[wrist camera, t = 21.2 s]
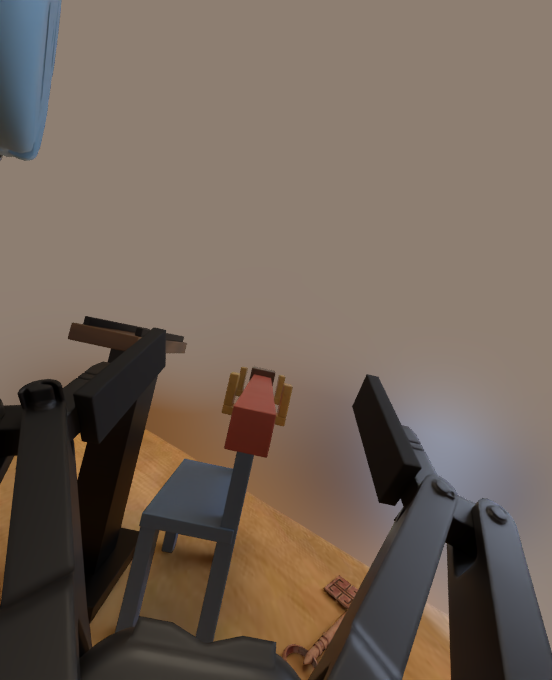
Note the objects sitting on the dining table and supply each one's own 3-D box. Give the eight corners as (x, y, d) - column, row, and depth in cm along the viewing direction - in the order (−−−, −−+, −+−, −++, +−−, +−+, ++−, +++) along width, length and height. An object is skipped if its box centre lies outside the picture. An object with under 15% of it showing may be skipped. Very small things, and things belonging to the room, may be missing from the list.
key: (341, 578, 35) (260, 645, 25) (342, 571, 36) (261, 635, 25) (383, 611, 31) (307, 708, 21) (384, 603, 31) (308, 695, 21)
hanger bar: (274, 460, 14) (286, 401, 14) (216, 447, 14) (229, 389, 14) (270, 392, 38) (274, 371, 38) (248, 387, 38) (253, 366, 38)
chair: (233, 666, 23) (293, 386, 24) (110, 642, 23) (178, 361, 24) (244, 558, 35) (284, 375, 36) (164, 542, 35) (207, 358, 36)
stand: (72, 650, 22) (151, 330, 23) (-24, 631, 21) (62, 311, 23) (149, 533, 36) (195, 339, 37) (91, 521, 35) (140, 326, 37)
